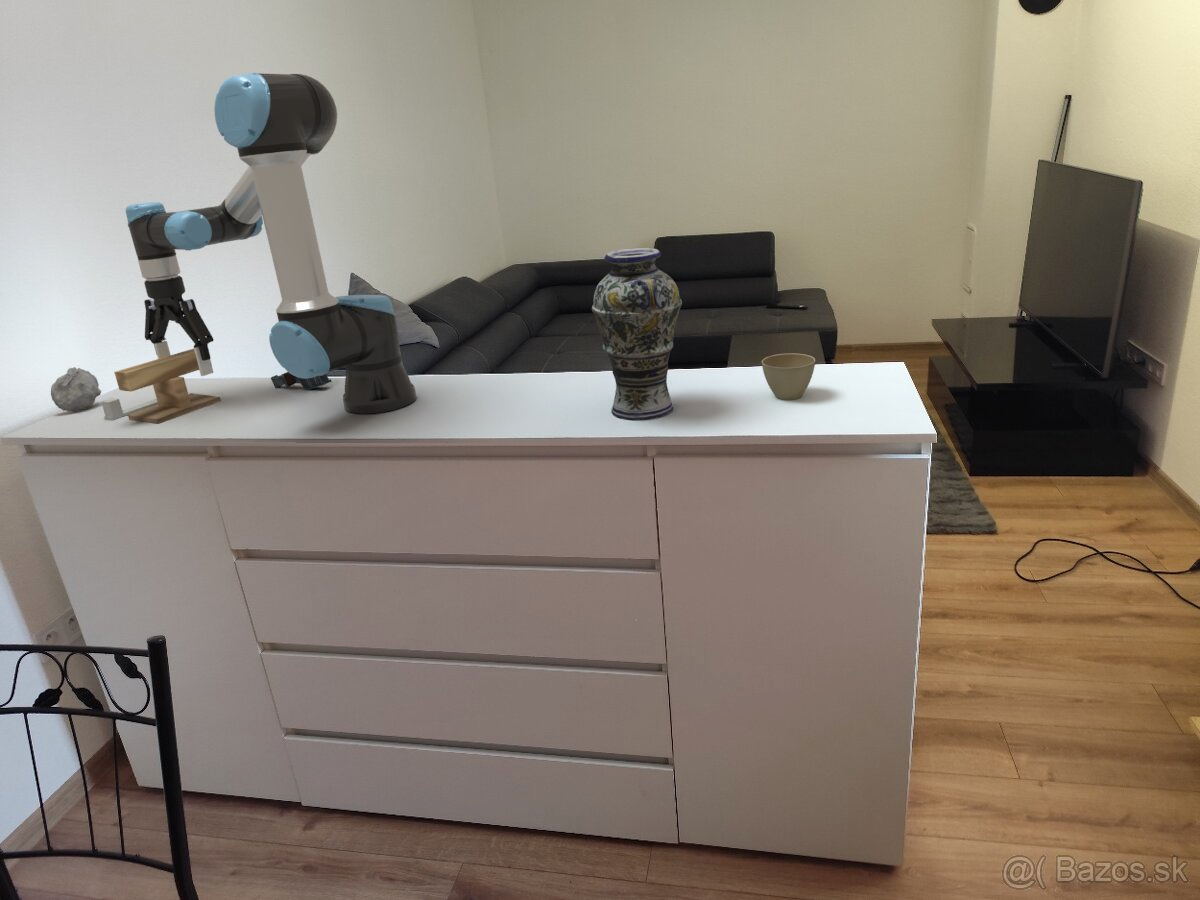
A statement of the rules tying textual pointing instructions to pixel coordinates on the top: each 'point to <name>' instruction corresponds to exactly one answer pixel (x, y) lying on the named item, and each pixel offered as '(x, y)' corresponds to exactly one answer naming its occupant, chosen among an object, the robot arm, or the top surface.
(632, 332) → the vase
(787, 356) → the flower pot
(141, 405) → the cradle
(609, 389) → the top surface
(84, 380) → the stone
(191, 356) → the bar
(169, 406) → the fulcrum
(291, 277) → the robot arm
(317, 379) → the gun
